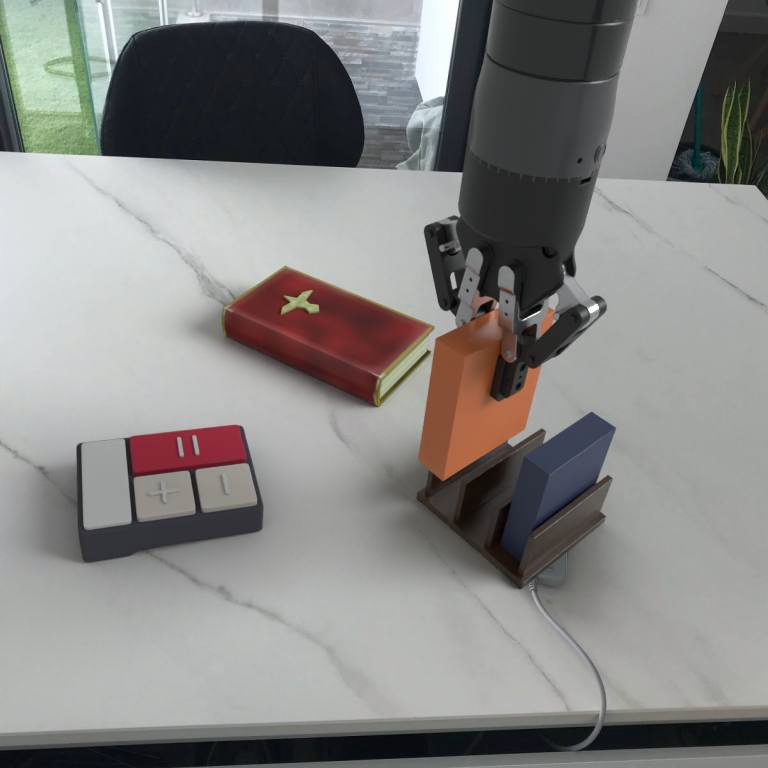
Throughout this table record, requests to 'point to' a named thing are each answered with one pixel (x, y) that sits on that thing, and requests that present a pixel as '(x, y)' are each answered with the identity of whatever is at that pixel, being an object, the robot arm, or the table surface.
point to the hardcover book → (329, 333)
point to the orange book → (470, 397)
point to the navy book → (555, 478)
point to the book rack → (492, 504)
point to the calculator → (165, 490)
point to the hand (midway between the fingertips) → (486, 382)
